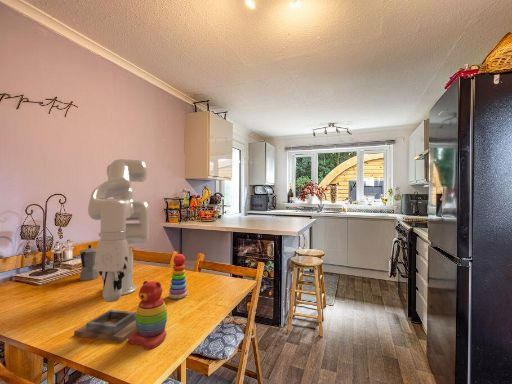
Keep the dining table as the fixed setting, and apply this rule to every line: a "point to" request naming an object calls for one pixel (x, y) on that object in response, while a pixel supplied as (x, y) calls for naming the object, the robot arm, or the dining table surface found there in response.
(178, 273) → the stacking toy
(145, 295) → the stacking bear
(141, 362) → the dining table surface
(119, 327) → the stand
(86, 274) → the coffeepot
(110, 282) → the salt shaker
